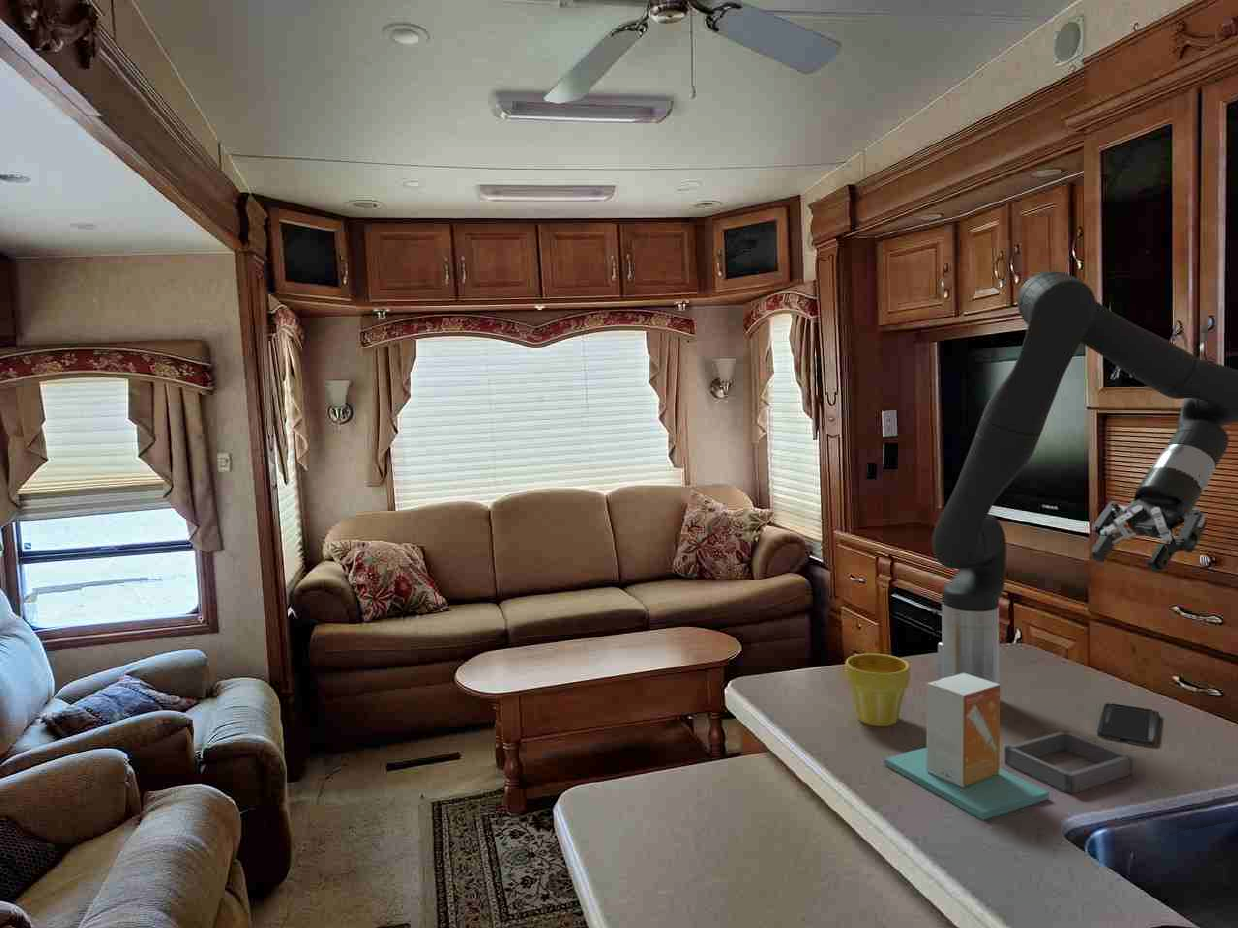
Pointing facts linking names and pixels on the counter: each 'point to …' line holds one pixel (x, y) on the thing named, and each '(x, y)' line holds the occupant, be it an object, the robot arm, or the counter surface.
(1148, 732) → the phone
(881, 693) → the plant pot
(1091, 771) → the tray frame
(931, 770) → the small box
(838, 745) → the counter surface
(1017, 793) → the board
